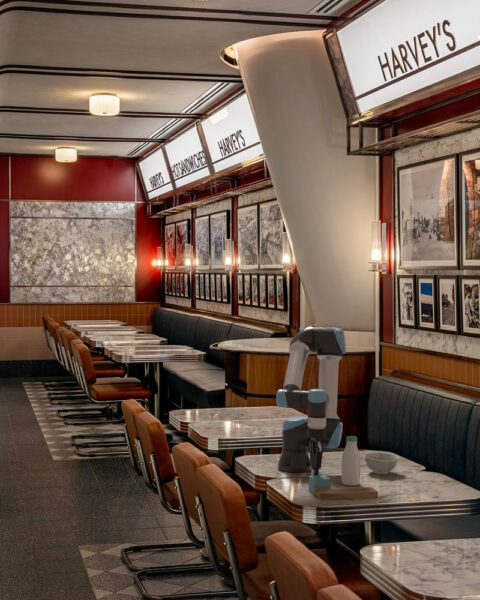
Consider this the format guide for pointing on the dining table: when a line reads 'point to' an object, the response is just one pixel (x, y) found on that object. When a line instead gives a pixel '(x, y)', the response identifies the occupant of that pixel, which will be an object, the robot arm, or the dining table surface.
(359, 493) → the board
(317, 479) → the block
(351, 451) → the milk bottle
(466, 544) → the dining table surface
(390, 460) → the bowl
